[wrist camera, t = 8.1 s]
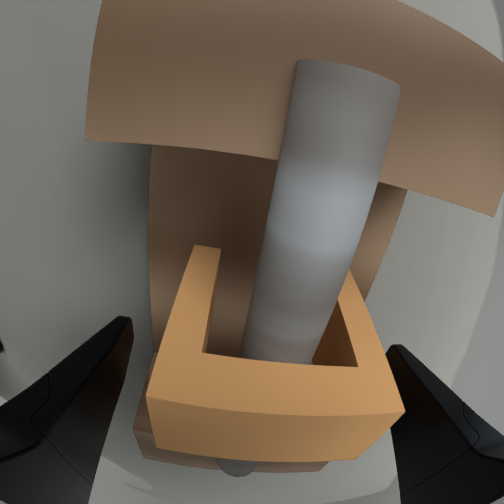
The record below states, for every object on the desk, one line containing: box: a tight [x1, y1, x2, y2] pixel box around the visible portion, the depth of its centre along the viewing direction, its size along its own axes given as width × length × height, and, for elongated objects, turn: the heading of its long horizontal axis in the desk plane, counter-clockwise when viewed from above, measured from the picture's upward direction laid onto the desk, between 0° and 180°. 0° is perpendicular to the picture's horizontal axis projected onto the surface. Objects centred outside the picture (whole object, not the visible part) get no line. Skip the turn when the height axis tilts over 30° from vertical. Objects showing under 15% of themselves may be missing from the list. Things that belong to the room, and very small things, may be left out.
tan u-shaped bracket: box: [146, 245, 405, 462], centre depth 9 cm, size 6×3×6 cm, turn 80°
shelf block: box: [85, 0, 504, 477], centre depth 11 cm, size 20×10×7 cm, turn 171°
